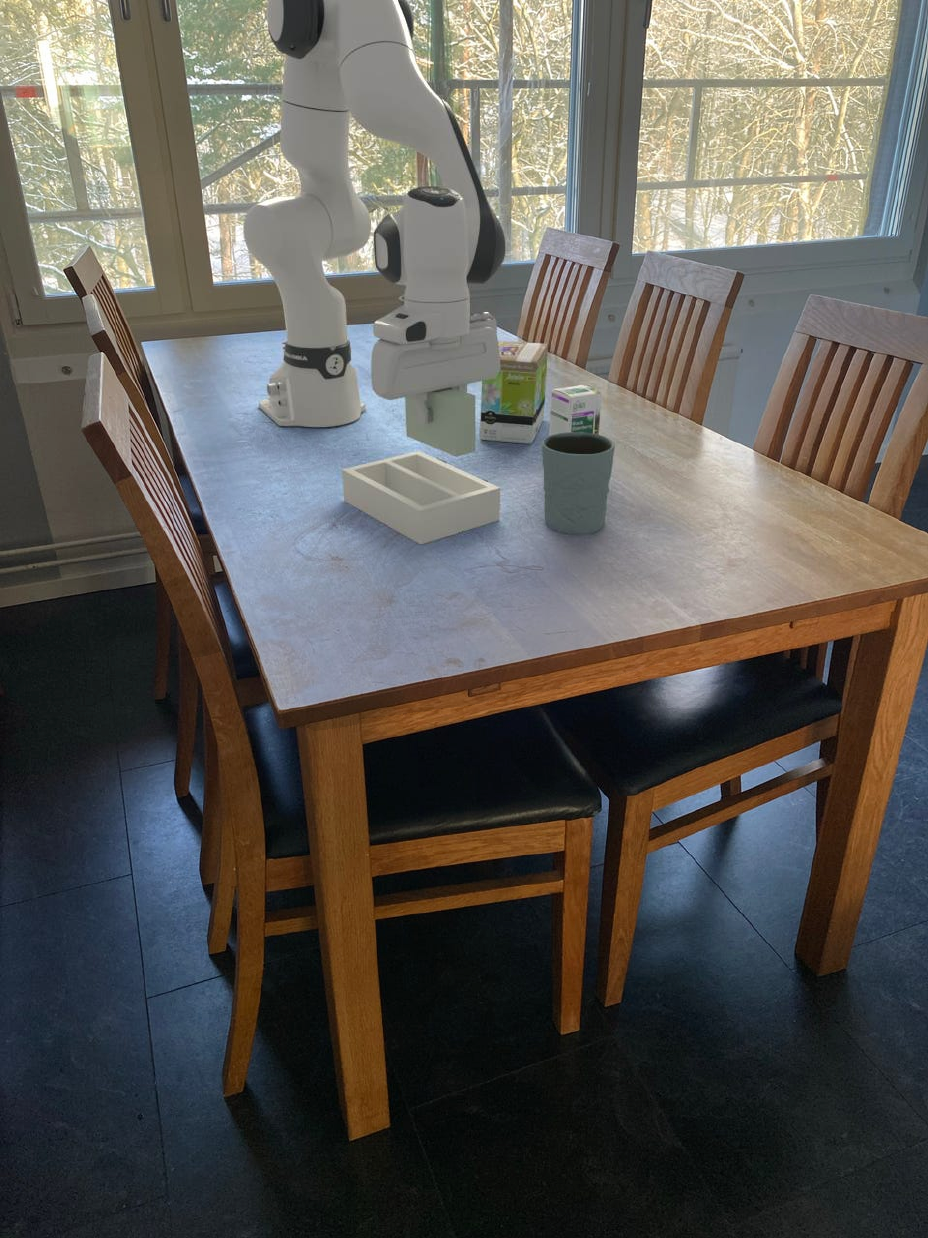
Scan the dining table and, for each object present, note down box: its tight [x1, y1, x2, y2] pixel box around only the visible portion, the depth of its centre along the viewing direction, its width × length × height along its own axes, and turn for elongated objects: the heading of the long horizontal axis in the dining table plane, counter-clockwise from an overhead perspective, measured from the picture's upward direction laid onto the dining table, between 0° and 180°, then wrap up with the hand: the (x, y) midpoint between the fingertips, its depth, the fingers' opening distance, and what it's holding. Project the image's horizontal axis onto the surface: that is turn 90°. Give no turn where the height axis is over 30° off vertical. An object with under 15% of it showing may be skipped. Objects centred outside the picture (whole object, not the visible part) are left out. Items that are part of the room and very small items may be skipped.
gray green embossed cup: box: [541, 432, 616, 536], centre depth 131 cm, size 10×10×12 cm
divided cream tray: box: [341, 450, 501, 545], centre depth 136 cm, size 20×15×5 cm
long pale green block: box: [404, 388, 477, 458], centre depth 132 cm, size 12×4×8 cm, turn 38°
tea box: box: [479, 340, 549, 445], centre depth 167 cm, size 15×10×15 cm, turn 168°
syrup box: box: [548, 384, 602, 436], centre depth 145 cm, size 6×6×14 cm
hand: (439, 419), depth 132 cm, fingers closed on long pale green block, 3 cm apart
